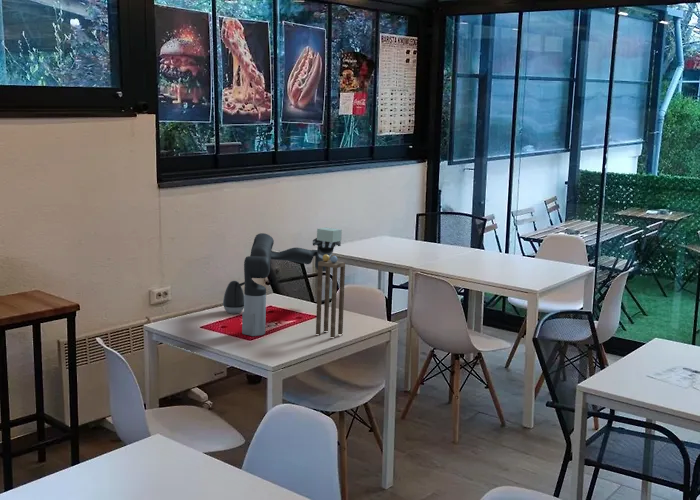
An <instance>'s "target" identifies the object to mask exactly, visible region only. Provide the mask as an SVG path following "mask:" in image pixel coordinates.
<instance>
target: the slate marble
mask: <svg viewBox="0 0 700 500" xmlns="http://www.w3.org/2000/svg"><path fill="white" fill-rule="evenodd" d="M330 260H331V262H332V263H336V262H337V261H338V257H337V256H336V255H331V258H330Z"/></svg>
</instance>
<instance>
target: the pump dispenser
mask: <svg viewBox="0 0 700 500" xmlns="http://www.w3.org/2000/svg"><path fill="white" fill-rule="evenodd" d="M243 286H245V281H243V282H241V283H240V282H239V281H238V280H231V281H230V282H229V283H228V284H227V287H226V288H225V291H224V295H223V301H222V305H223V309H224V311H226V313H228V314H231V315H235V314H240V313H241V312H242V311H244V291H243V288H242V287H243Z"/></svg>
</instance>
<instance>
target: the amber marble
mask: <svg viewBox="0 0 700 500" xmlns="http://www.w3.org/2000/svg"><path fill="white" fill-rule="evenodd" d="M329 258H330V257H329V255H327V254H325V255H323V257H322V259H323V260H324V261H328V260H329ZM330 259H331V258H330Z"/></svg>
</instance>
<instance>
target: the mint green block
mask: <svg viewBox="0 0 700 500" xmlns="http://www.w3.org/2000/svg"><path fill="white" fill-rule="evenodd" d="M342 231H343V230H342V229H340V228H332V227H320V228H316V238H317V240H320V241H326V242H338V241H341V242H342V236H343V235H342V233H343V232H342Z"/></svg>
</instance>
